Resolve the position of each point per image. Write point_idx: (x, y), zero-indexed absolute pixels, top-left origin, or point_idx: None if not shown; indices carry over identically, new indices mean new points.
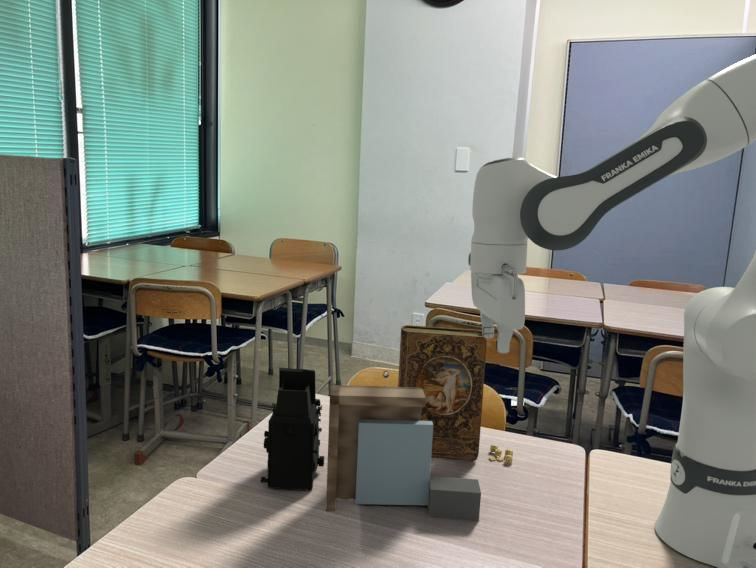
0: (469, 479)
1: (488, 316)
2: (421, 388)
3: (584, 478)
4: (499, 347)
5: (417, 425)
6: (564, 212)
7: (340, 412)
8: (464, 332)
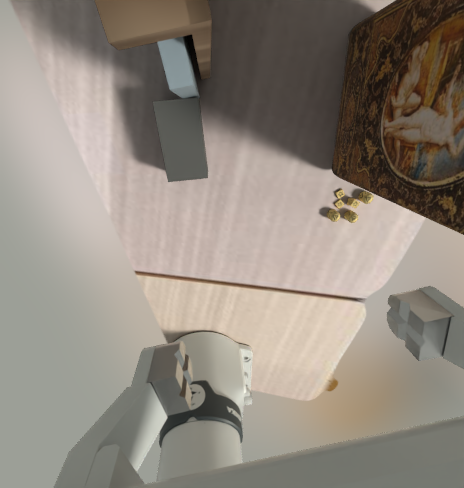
0: (203, 165)
1: (241, 485)
2: (202, 18)
3: (299, 290)
4: (138, 367)
5: (158, 43)
6: None
7: None
8: None
